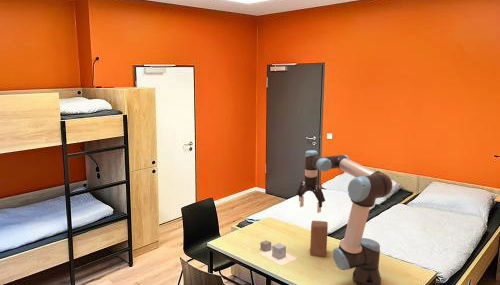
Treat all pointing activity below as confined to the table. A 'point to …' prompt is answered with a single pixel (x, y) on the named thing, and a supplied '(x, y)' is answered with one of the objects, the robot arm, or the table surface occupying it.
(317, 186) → the robot arm
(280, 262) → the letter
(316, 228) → the wooden block
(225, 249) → the table surface
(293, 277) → the table surface
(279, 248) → the slate cube
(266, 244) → the grey cube
